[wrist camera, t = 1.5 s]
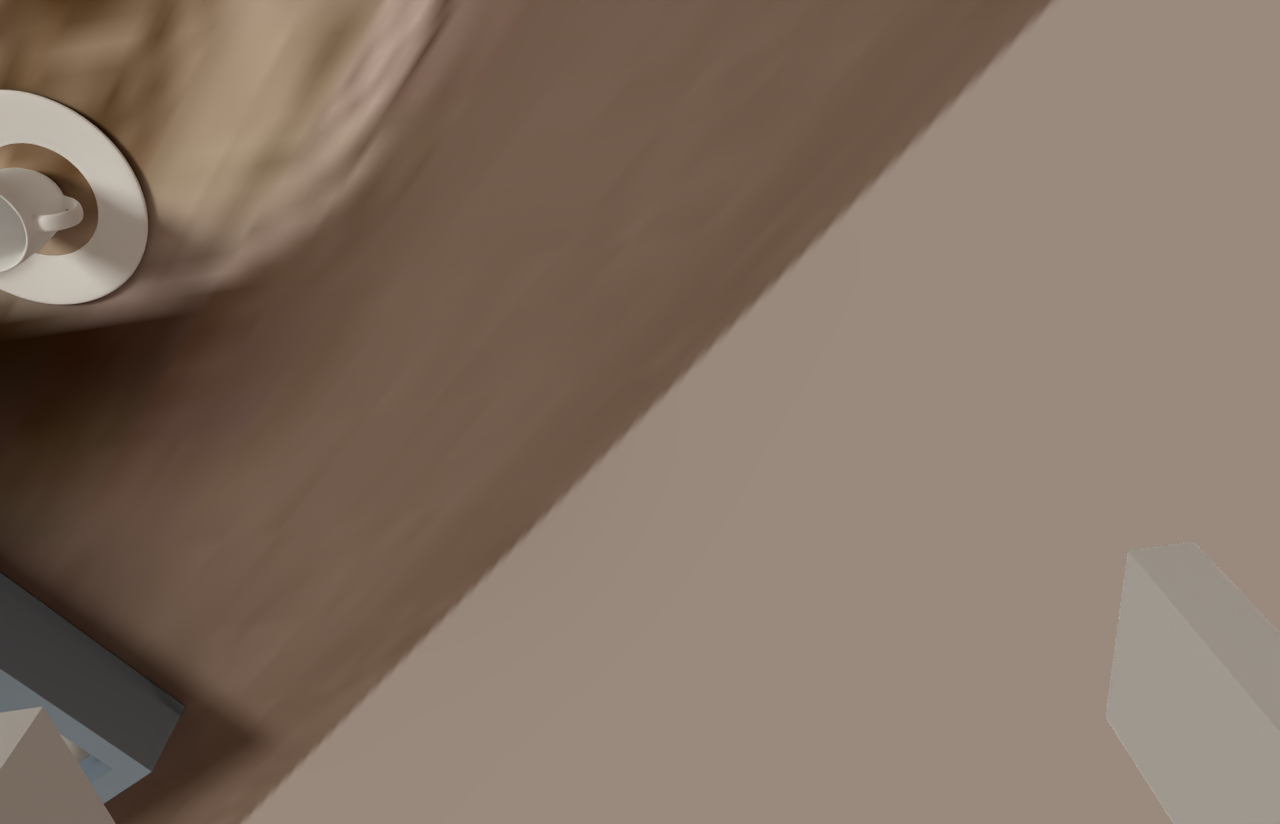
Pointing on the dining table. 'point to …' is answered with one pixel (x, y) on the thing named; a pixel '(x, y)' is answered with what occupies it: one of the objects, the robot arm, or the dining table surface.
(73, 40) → the dining table surface
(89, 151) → the teacup and saucer
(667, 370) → the dining table surface
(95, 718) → the bin
